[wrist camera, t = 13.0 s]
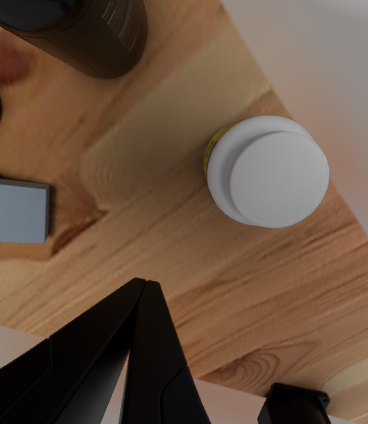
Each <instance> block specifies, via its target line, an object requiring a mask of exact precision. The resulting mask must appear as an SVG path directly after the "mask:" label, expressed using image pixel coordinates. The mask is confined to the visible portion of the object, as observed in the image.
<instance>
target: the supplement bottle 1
mask: <svg viewBox="0 0 368 424" xmlns="http://www.w3.org/2000/svg"><path fill="white" fill-rule="evenodd" d="M0 27H2V28H4V29H5V30H7V31H9V32H11V33H13V34H14V35H16V36H18V37H20V38H22V39H23V40H25V41H27V42H29V43H30V44H32V45H34V46H36V47H38V48H39V49H41V50H43V51H45V52H46V53H48V54H50V55H52V56H54V57H55V58H57V59H59V60H61V61H63V62H64V63H66V64H68V65H70V66H71V67H73V68H75V69H77V70H79V71H81V72H83V73H85V74H87V75H90V76H93V77H97V78H110V77H114V76H117V75H120V74H122V73H124V72H125V71H127V70H128V69H129V68H130V67H131V66H132V65H133V64H134V63H135V62H136V60H137V59H138V57H139V56H140V54H141V51H142V49H143V46H144V43H145V38H146V31H147V18H146V12H145V7H144V3H143V0H0Z"/></svg>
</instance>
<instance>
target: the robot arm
mask: <svg viewBox="0 0 368 424" xmlns="http://www.w3.org/2000/svg"><path fill="white" fill-rule="evenodd" d="M129 351H130V353H129ZM128 353H129V359H128V366H127V372H126V378H125V385H124V391H123V398H122V404H121V410H120V417H119V423H118V424H211V422H210V420H209V418H208V416H207V413H206V411H205V409H204V406H203V404H202V402H201V399H200V397H199V394H198V391H197V389H196V386H195V384H194V381H193V378H192V375H191V372H190V369H189V367H188V366H187V361H186V358H185V355H184V353H183V350H182V347H181V344H180V341H179V338H178V335H177V332H176V329H175V326H174V324H173V321H172V318H171V315H170V312H169V309H168V306H167V303H166V300H165V298H164V295H163V292H162V289H161V286H160V283H159V282H156V281H151V280H148V281H146V280H145V279H141V278H136V277H135V278H133V279H132V280H130V281H129V282H127V283H126V284H124V285H123V286H121V287H120V288H118V289H117V290H116V291H114V292H113V293H111V294H110V295H108V296H107V297H105V298H104V299H103V300H101V301H100V302H98V303H97V304H95V305H94V306H92V307H91V308H89V309H88V310H87V311H85V312H84V313H82V314H81V315H79V316H78V317H76V318H75V319H74V320H72V321H71V322H69V323H68V324H66V325H65V326H63V327H62V328H61V329H59V330H58V331H56V332H55V333H53V334H52V335H50V336H49V339H48V338H46V339H44V340H43V341H42V342H40V343H39V344H37V345H36V346H34V347H33V348H31V349H30V350H28V351H27V352H25V353H24V354H22V355H21V356H19V357H18V358H16V359H15V360H13V361H12V362H10V363H8V364H7V365H6V366H4V367H2V368H0V424H100V423H101V421H102V418H103V416H104V413H105V411H106V408H107V406H108V403H109V401H110V399H111V396H112V394H113V391H114V389H115V386H116V384H117V381H118V379H119V376H120V373H121V371H122V369H123V366H124V364H125V361H126V359H127V356H128ZM329 402H330V399H329V397H328V395H327V394H324V393H319V392H315V391H310V390H305V389H300V388H295V387H290V386H285V385H280V384H274V385H273V386H272V388H271V390H270V392H269V394H268V397H267V399H266V401H265V403H264V405H263V407H262V409H261V411H260V414H259V416H258V418H257V420H258V424H331V422H330V420H329V418H328V415H327V413H326V411H325V409H326V407H327V405H328V403H329Z"/></svg>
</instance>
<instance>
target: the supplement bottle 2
mask: <svg viewBox="0 0 368 424" xmlns="http://www.w3.org/2000/svg"><path fill="white" fill-rule="evenodd" d="M203 166H204V171H205V176H206V180H207V183H208V187H209V190H210V193H211V195H212V198H213V199H214V201H215V203H216V204H217V206H218V207H219V208H220V209H221V210H222V211H223V212H224V213H225V214H226V215H227V216H229V217H230V218H232V219H234V220H236V221H238V222H240V223H243V224H247V225H254V226H262V227H266V228H282V227H287V226H290V225H293V224H296V223H298V222H300V221H301V220H303V219H305V218H306V217H308V216H309V215H310V214H311V213H312V212H313V211H314V210H315V209H316V208H317V207H318V205H319V204H320V202H321V201H322V199H323V197H324V195H325V193H326V190H327V187H328V182H329V167H328V163H327V160H326V157H325V155H324V153H323V152H322V150H321V149H320V147H319V146H318V145H317V144H316V143H315V142H314V140H313V138H312V137H311V135H310V134H309V133H308V132H307V131H306V130H305V129H304V128H303V127H302V126H301V125H299V124H298V123H296V122H295V121H293V120H290V119H288V118H285V117H281V116H275V115H263V116H256V117H252V118H249V119H246V120H243V121H240V122H237V123H234V124H232V125H229V126H227V127H224V128H223V129H221V130H220V131H218V132H217V133H216V134H215V135H214V136H213V137H212V138H211V140H210V141H209V142H208V144H207V146H206V149H205V152H204V157H203Z"/></svg>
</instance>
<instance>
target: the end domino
mask: <svg viewBox="0 0 368 424" xmlns="http://www.w3.org/2000/svg"><path fill="white" fill-rule="evenodd" d="M49 199H50V185H49V184H41V183H32V182H24V181H15V180H7V179H0V242H19V243H45V241H46V239H47V237H48V226H49Z"/></svg>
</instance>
